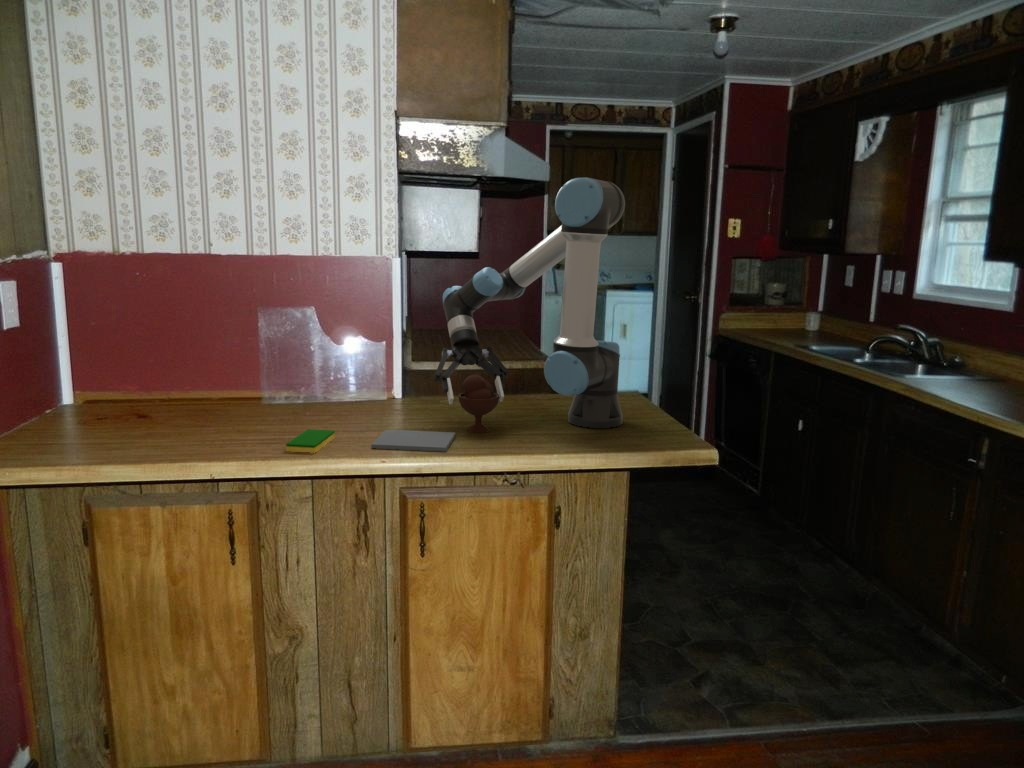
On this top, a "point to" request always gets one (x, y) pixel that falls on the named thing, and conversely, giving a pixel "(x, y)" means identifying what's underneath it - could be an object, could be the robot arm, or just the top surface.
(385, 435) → the mat
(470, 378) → the ice cream bowl
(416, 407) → the top surface
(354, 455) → the top surface
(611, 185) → the robot arm
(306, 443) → the dish sponge
